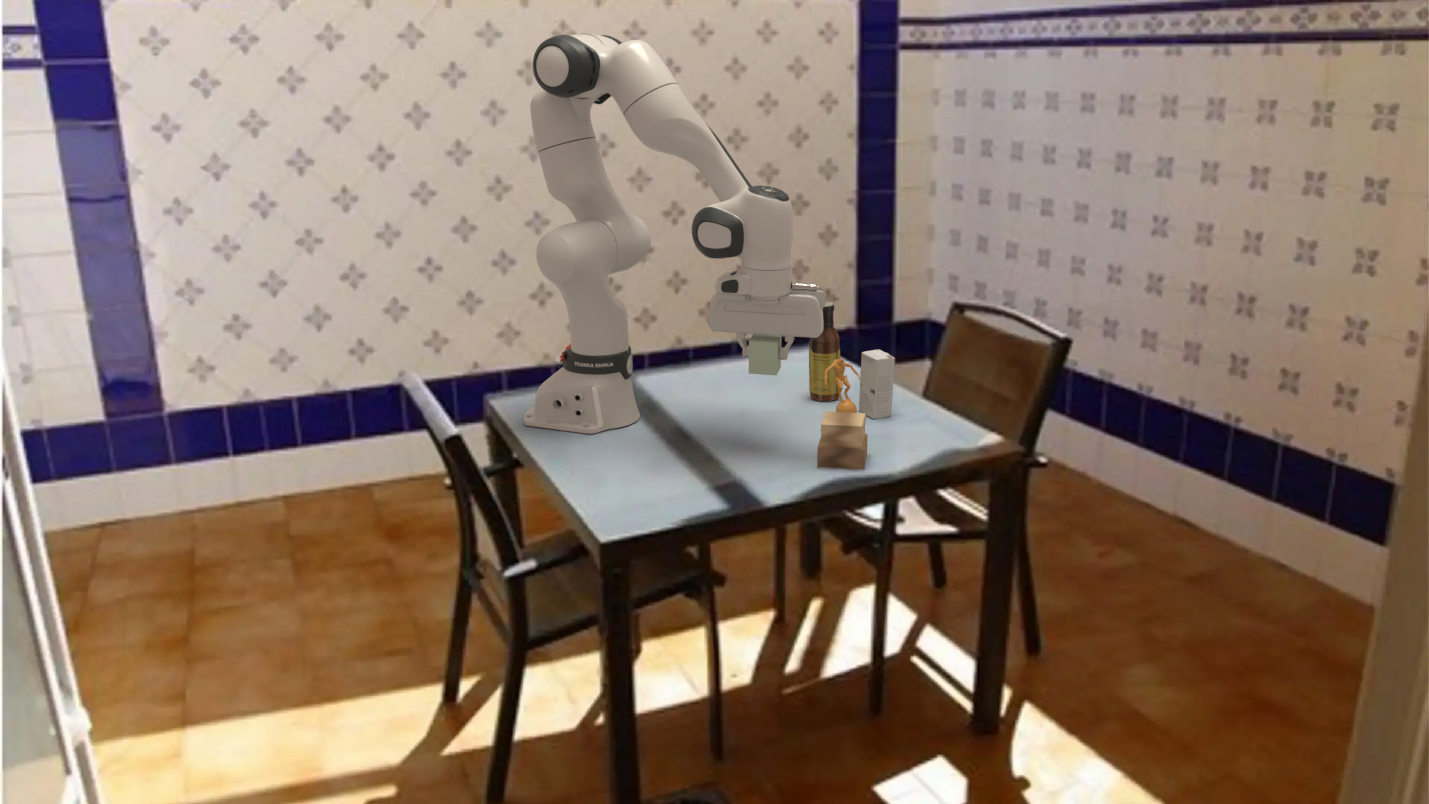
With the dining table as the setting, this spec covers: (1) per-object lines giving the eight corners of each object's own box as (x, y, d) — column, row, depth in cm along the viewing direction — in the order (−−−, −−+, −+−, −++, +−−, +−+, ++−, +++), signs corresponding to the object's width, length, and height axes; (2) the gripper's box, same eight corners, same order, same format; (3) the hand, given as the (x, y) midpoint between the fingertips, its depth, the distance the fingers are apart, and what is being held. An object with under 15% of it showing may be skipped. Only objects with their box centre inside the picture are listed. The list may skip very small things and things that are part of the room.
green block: (748, 373, 210) (749, 340, 208) (753, 365, 214) (753, 333, 212) (776, 375, 209) (777, 342, 207) (780, 367, 213) (781, 335, 211)
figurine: (834, 426, 225) (835, 366, 221) (816, 418, 230) (816, 358, 226) (869, 419, 229) (871, 359, 225) (850, 410, 234) (852, 351, 230)
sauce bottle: (822, 391, 245) (823, 297, 239) (846, 397, 241) (848, 302, 235) (802, 398, 241) (802, 303, 235) (826, 405, 237) (827, 308, 231)
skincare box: (857, 410, 233) (859, 351, 230) (877, 407, 235) (879, 348, 231) (873, 419, 228) (875, 359, 224) (893, 416, 230) (895, 356, 226)
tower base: (817, 468, 205) (817, 447, 204) (822, 452, 213) (822, 431, 212) (863, 471, 204) (864, 449, 203) (867, 455, 211) (867, 433, 210)
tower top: (820, 446, 205) (821, 424, 203) (825, 432, 211) (825, 411, 210) (861, 448, 203) (862, 426, 202) (865, 434, 210) (865, 413, 208)
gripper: (828, 280, 207) (825, 356, 212) (713, 274, 211) (713, 349, 215) (824, 289, 201) (821, 366, 206) (706, 282, 205) (705, 359, 210)
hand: (765, 357), depth 211 cm, fingers closed on green block, 5 cm apart
